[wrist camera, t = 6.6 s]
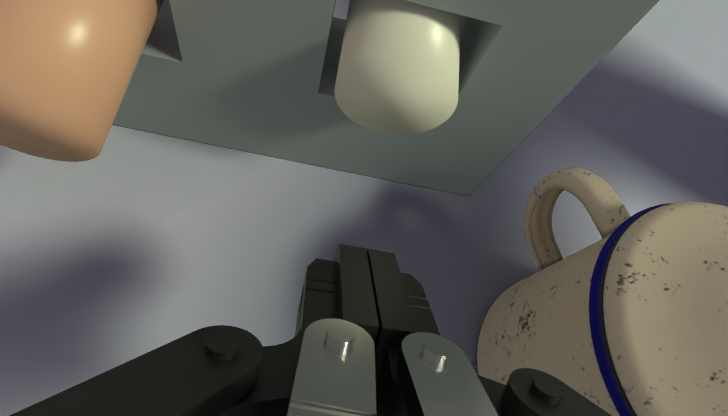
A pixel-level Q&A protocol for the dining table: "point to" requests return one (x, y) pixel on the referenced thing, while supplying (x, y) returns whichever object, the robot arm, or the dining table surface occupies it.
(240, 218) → the dining table surface
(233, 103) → the button panel
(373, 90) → the cream button
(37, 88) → the terracotta button
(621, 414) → the teacup with lid
